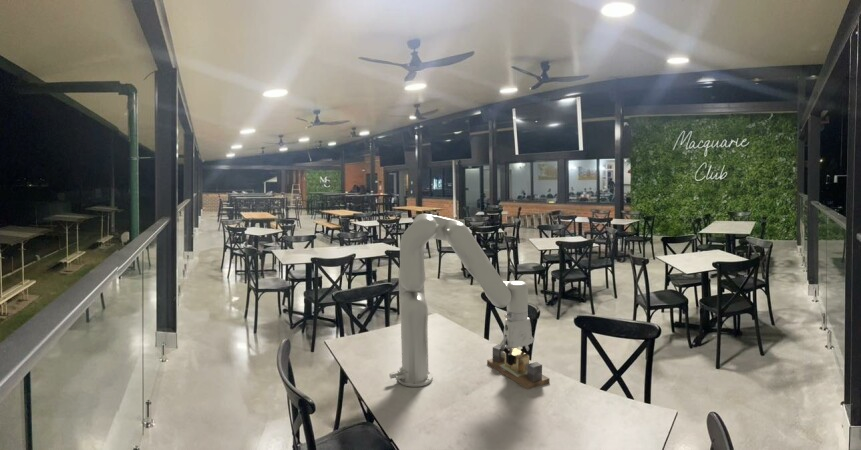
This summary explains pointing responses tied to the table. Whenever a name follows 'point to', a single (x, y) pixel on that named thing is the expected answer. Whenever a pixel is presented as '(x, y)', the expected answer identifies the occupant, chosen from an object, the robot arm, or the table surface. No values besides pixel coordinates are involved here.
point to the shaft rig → (524, 379)
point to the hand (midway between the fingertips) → (516, 361)
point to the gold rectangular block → (518, 361)
